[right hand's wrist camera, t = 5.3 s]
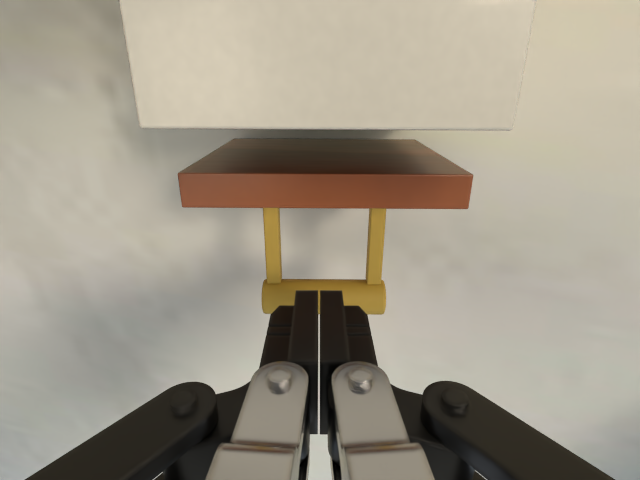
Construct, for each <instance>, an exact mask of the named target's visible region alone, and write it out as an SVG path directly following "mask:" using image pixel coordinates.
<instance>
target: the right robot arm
mask: <svg viewBox="0 0 640 480" xmlns="http://www.w3.org/2000/svg"><path fill="white" fill-rule="evenodd" d="M310 434H318V290H296V293H295V302H294V305H279V306H278V307H277V308H276V310H275V311H274V312H273V313H272V314H271V316H270V321H269V327H268V330H267V336H266V339H265V344H264V349H263V353H262V358H261V362H260V367H259V369H258V370H257V371H256V372H255V373H254V375H253V377H252V379H251V381H250V382H249V383H247V384H246V385H244V386H242V387H240V388H238V389H235V390H232V391H228V392H224V393H220V394H215V392H214V390H213V389H212V388H211V387H210V386H208V385H207V384H204V383H200V382H186V383H182V384H178V385H176V386H173V387H171V388H169V389H168V390H166V391H164V392H163V393H161V394H160V395H158V396H156V397H155V398H153V399H152V400H150V401H148V402H147V403H145V404H144V405H142V406H141V407H139V408H137V409H136V410H134V411H133V412H131V413H130V414H128V415H126V416H125V417H123V418H122V419H120V420H118V421H117V422H115V423H114V424H112V425H111V426H109V427H107V428H106V429H104V430H103V431H101V432H99V433H98V434H96V435H95V436H93V437H92V438H90V439H88V440H87V441H85V442H84V443H82V444H81V445H79V446H77V447H76V448H74V449H73V450H71V451H69V452H68V453H66V454H65V455H63V456H62V457H60V458H58V459H57V460H55V461H54V462H52V463H51V464H49V465H47V466H46V467H44V468H43V469H41V470H39V471H38V472H36V473H35V474H33V475H32V476H30V477H28V478H27V479H25V480H153V479H154V478H155V477H156V476H158V475H159V474H160V473H161V472H163V473H162V474H161V475H159V476H158V477H157V478H156V479H154V480H308V473H309V462H310V458H309V442H310ZM320 434H328V451H329V454H330V456H331V458H330V462H331V473H332V480H486V479H487V480H615V479H613V478H612V477H610V476H608V475H607V474H605V473H604V472H602V471H601V470H599V469H597V468H596V467H594V466H593V465H591V464H589V463H588V462H586V461H585V460H583V459H582V458H580V457H578V456H577V455H575V454H574V453H572V452H571V451H569V450H567V449H566V448H564V447H563V446H561V445H559V444H558V443H556V442H555V441H553V440H552V439H550V438H548V437H547V436H545V435H544V434H542V433H540V432H539V431H537V430H536V429H534V428H533V427H531V426H529V425H528V424H526V423H525V422H523V421H522V420H520V419H518V418H517V417H515V416H514V415H512V414H510V413H509V412H507V411H506V410H504V409H503V408H501V407H499V406H498V405H496V404H495V403H493V402H492V401H490V400H488V399H487V398H485V397H484V396H482V395H480V394H479V393H477V392H476V391H474V390H473V389H471V388H469V387H467V386H465V385H463V384H460V383H457V382H452V381H439V382H435V383H432V384H430V385H429V386H428V387H426V389H425V390H424V392H423V395H421V394H417V393H413V392H409V391H405V390H402V389H399V388H397V387H395V386H393V385H391V384H390V382H389V379H388V377H387V375H386V373H385V372H384V371H383V370H382V369H381V368H379V367H378V365H377V360H376V355H375V350H374V345H373V340H372V336H371V331H370V327H369V321H368V316H367V314H366V313H365V312H364V311H363V310H362V309H361V307H360V306H344V302H343V293H342V290H320ZM475 470H476V471H477V472H479V473H480V474H481V475H482V476H484V477H485V478H486V479H484V478H483V477H482V476H481V475H479V474H478V473H477V472H476V471H475Z"/></svg>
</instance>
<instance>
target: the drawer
mask: <svg viewBox="0 0 640 480" xmlns="http://www.w3.org/2000/svg"><path fill="white" fill-rule="evenodd" d="M178 179H179V187H180V194H181V202H182V207H208V208H263V217H264V236H265V254H266V273H267V279H265V280H264V282H263V287H262V309H263V312H264V313H265V314H272V313H273V312H274V311H275V310H276V308H277V307H278V306H279V305H294V302H295V293H296V290H318V314H320V290H342V293H343V302H344V306H360V307H361V309H362V310H363V311H364V312H365V313H366V314H384V312H385V307H386V290H385V284H384V281H383V280H381V275H382V261H383V246H384V232H385V218H386V209H468V206H469V200H470V193H471V187H472V180H473V174H471V173H469V172H468V171H466V170H464V169H463V168H461V167H459V166H458V165H456V164H454V163H453V162H451V161H449V160H448V159H446V158H444V157H443V156H441V155H439V154H438V153H436V152H434V151H433V150H431V149H429V148H428V147H426V146H424V145H423V144H421V143H420V142H418V141H416V140H379V139H233V140H231V141H229V142H228V143H226V144H225V145H223V146H221V147H220V148H218V149H216V150H215V151H213V152H212V153H210V154H208V155H207V156H205V157H203V158H202V159H200V160H199V161H197V162H195V163H194V164H192V165H190V166H189V167H187V168H186V169H184V170H182V171H181V172H179V173H178ZM279 208H369V226H368V245H367V263H366V280H343V279H282V266H281V238H280V211H279Z"/></svg>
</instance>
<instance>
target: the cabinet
mask: <svg viewBox="0 0 640 480" xmlns="http://www.w3.org/2000/svg"><path fill="white" fill-rule="evenodd" d="M536 1H537V0H119V4H120V10H121V16H122V22H123V28H124V35H125V41H126V47H127V53H128V59H129V65H130V71H131V77H132V83H133V90H134V96H135V102H136V108H137V114H138V120H139V126H140V128H143V129H313V130H512V129H513V126H514V121H515V115H516V110H517V104H518V99H519V93H520V88H521V83H522V77H523V72H524V66H525V61H526V55H527V50H528V44H529V39H530V33H531V28H532V23H533V17H534V12H535V6H536Z"/></svg>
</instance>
